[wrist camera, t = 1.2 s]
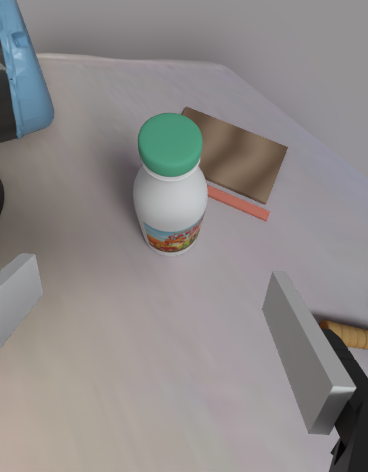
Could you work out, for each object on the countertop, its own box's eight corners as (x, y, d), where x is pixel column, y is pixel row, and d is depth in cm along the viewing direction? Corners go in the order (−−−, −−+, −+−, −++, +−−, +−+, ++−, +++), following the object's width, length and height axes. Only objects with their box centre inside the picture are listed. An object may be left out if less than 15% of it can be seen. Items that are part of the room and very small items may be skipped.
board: (157, 159, 40) (157, 156, 40) (186, 109, 44) (186, 106, 43) (264, 204, 39) (266, 202, 38) (286, 149, 42) (287, 147, 41)
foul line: (144, 169, 40) (144, 167, 39) (149, 161, 40) (149, 159, 40) (265, 221, 38) (266, 220, 37) (269, 212, 38) (270, 211, 38)
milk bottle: (132, 239, 36) (90, 150, 17) (162, 197, 38) (153, 77, 19) (179, 268, 35) (190, 207, 16) (207, 223, 37) (244, 123, 18)
